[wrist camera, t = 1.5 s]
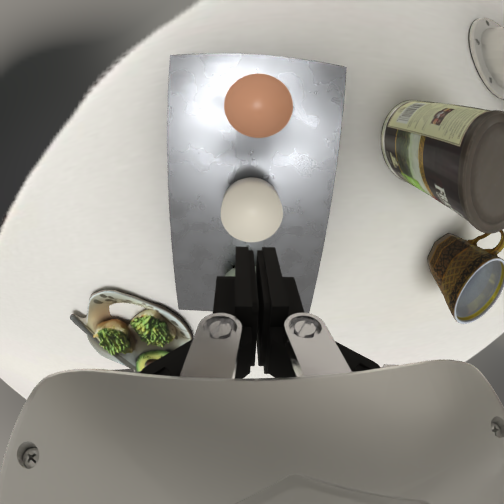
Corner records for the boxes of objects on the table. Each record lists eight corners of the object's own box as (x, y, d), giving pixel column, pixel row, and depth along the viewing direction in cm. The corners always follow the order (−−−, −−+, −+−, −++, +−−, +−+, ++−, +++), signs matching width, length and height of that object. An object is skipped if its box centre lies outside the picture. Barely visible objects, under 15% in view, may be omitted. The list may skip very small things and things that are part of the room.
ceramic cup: (449, 285, 37) (481, 324, 28) (407, 278, 36) (441, 323, 27) (482, 213, 31) (525, 244, 22) (443, 194, 30) (492, 227, 21)
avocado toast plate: (72, 338, 41) (62, 356, 37) (80, 262, 34) (64, 281, 30) (169, 380, 46) (165, 400, 42) (204, 318, 38) (201, 341, 34)
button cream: (278, 171, 27) (285, 186, 22) (273, 219, 30) (279, 243, 25) (225, 169, 27) (221, 183, 22) (224, 217, 29) (220, 241, 25)
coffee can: (430, 195, 30) (504, 248, 18) (367, 163, 28) (443, 209, 16) (457, 125, 25) (541, 152, 13) (397, 83, 24) (486, 84, 11)
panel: (336, 70, 23) (346, 67, 21) (304, 298, 37) (309, 313, 34) (177, 60, 22) (170, 55, 20) (182, 294, 36) (178, 309, 33)
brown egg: (285, 82, 23) (295, 76, 18) (281, 134, 25) (290, 140, 21) (229, 79, 23) (225, 72, 18) (226, 131, 25) (222, 136, 20)
